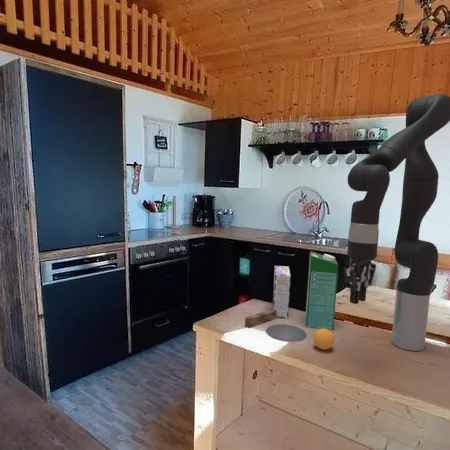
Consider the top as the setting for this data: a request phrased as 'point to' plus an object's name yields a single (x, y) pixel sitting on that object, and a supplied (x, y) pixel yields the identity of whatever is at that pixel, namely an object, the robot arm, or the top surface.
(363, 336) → the top surface
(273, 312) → the bar
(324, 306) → the milk carton
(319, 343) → the ball
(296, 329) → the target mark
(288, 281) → the candy box
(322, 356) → the top surface
